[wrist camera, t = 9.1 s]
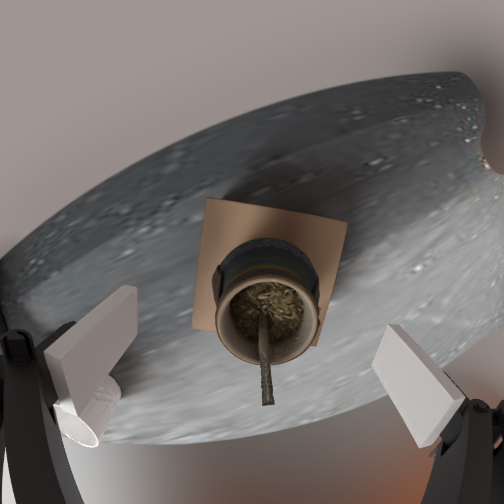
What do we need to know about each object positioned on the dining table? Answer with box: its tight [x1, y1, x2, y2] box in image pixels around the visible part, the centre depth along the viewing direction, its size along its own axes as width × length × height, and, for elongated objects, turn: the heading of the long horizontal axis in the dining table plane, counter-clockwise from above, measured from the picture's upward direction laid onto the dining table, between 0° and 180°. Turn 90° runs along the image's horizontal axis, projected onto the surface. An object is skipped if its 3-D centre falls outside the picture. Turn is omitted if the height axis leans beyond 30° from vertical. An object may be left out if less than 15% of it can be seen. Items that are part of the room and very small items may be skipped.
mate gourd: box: [212, 238, 321, 406], centre depth 16 cm, size 7×8×10 cm
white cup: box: [53, 374, 121, 447], centre depth 27 cm, size 8×8×10 cm
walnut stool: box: [192, 198, 348, 346], centre depth 24 cm, size 11×11×6 cm
